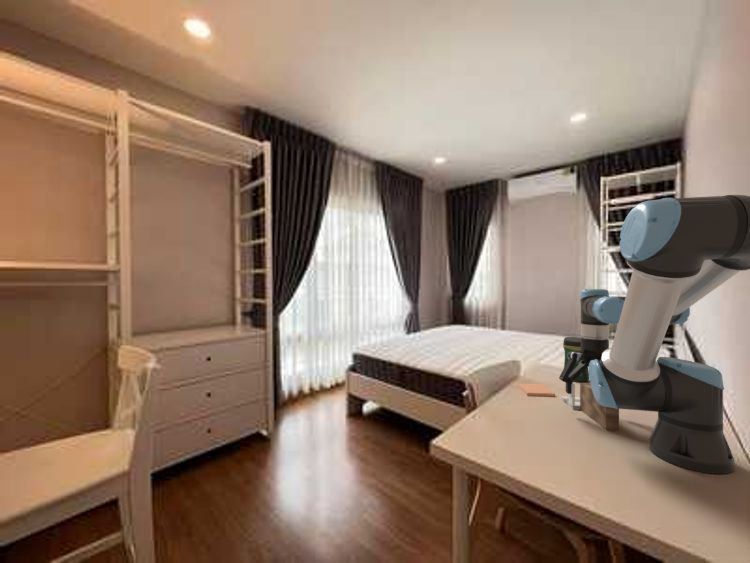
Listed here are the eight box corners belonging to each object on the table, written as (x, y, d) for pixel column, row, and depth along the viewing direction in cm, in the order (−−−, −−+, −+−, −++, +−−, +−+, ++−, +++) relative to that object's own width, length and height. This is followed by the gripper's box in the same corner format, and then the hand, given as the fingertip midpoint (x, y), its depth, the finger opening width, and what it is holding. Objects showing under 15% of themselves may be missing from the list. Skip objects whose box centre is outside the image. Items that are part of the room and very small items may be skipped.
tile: (554, 393, 127) (542, 384, 139) (527, 392, 128) (517, 383, 140) (555, 397, 127) (542, 387, 139) (527, 396, 128) (517, 387, 140)
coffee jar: (590, 379, 149) (590, 337, 149) (586, 383, 144) (586, 339, 144) (566, 375, 156) (566, 335, 156) (561, 379, 150) (561, 337, 150)
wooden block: (627, 431, 97) (627, 399, 97) (597, 429, 98) (597, 398, 98) (584, 400, 123) (584, 375, 123) (560, 399, 124) (560, 374, 124)
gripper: (630, 336, 110) (630, 402, 110) (548, 335, 113) (548, 399, 113) (645, 340, 103) (645, 411, 103) (557, 338, 106) (557, 407, 106)
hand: (594, 405), depth 108 cm, fingers open, 13 cm apart
